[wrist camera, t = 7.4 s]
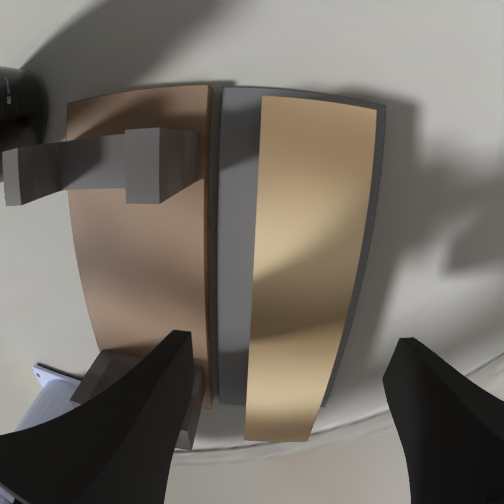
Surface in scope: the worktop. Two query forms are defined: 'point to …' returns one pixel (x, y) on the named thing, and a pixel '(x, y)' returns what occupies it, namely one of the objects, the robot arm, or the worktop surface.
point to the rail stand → (133, 225)
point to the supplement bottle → (20, 110)
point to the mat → (244, 225)
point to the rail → (304, 256)
